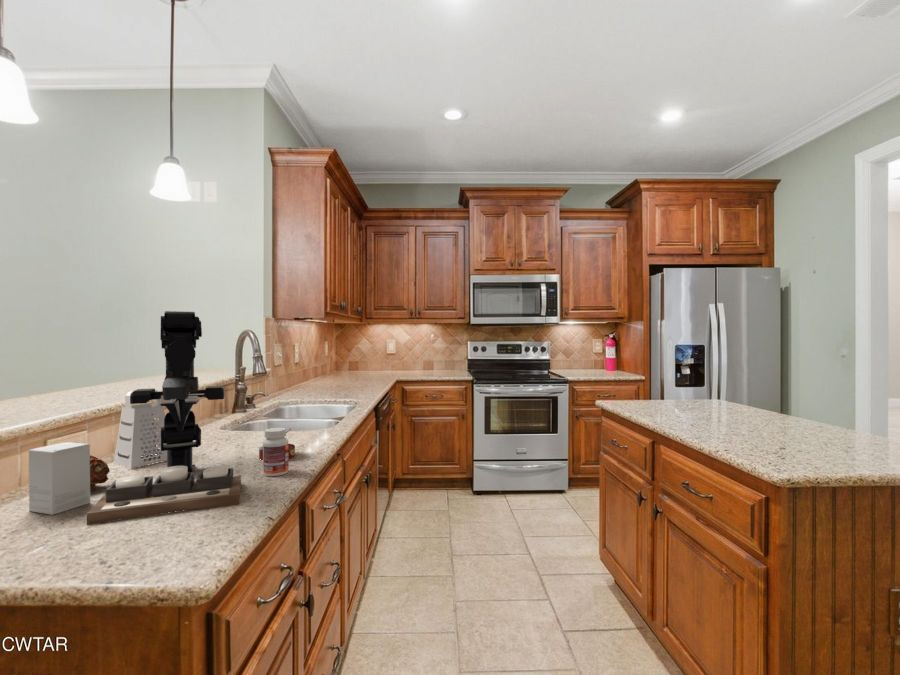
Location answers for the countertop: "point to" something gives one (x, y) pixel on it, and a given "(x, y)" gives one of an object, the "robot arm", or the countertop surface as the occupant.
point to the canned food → (290, 451)
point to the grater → (139, 434)
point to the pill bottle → (275, 452)
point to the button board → (165, 497)
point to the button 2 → (215, 472)
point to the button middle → (174, 474)
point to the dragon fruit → (97, 471)
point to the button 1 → (130, 481)
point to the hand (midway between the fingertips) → (180, 431)
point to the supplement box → (59, 477)
